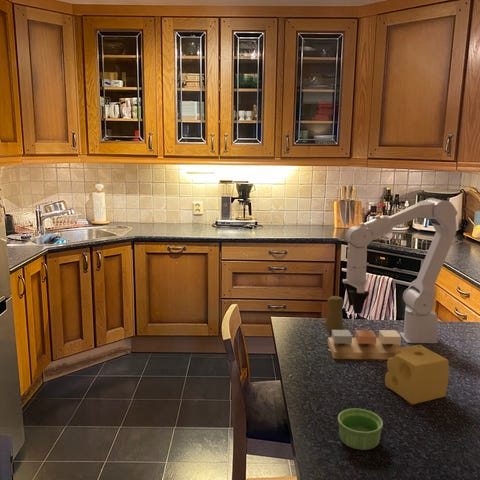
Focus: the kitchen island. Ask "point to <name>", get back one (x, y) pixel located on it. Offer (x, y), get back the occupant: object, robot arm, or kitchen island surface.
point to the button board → (362, 350)
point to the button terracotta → (365, 336)
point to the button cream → (389, 337)
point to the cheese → (417, 374)
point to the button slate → (342, 336)
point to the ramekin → (360, 428)
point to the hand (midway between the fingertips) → (355, 308)
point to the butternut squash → (334, 314)
